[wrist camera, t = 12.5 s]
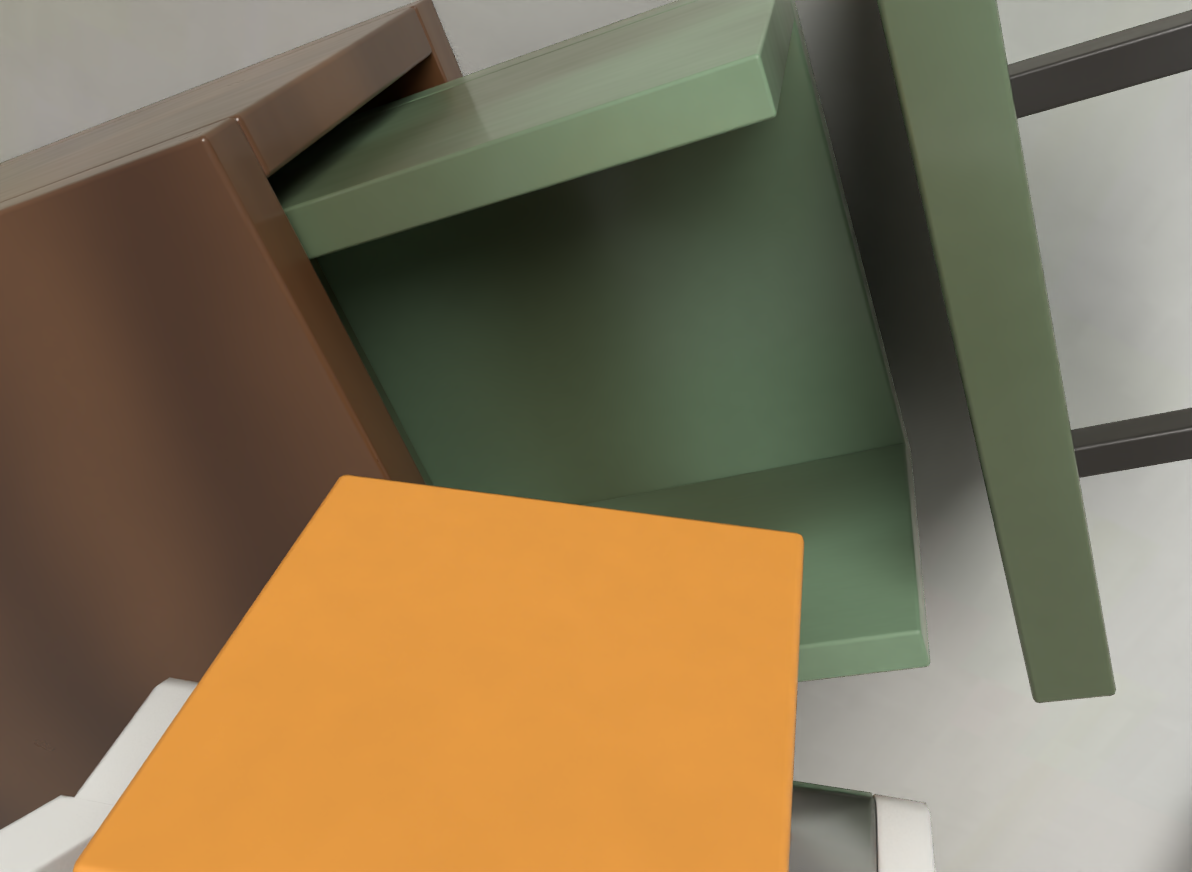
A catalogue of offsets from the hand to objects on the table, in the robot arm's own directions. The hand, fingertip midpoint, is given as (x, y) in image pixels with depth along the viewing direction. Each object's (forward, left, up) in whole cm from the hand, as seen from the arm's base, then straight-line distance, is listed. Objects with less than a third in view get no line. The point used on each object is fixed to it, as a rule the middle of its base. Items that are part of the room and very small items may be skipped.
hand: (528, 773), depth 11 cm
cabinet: (+4, -10, -14) cm, 17 cm away
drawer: (-1, +1, -13) cm, 13 cm away
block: (0, 0, -2) cm, 2 cm away
